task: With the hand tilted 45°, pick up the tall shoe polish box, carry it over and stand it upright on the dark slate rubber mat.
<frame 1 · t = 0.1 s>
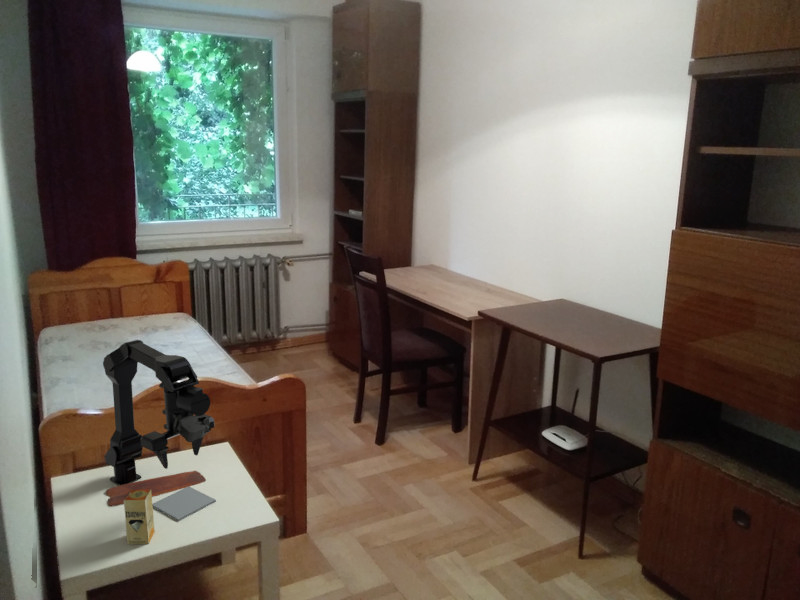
hand: (181, 461, 165), 15 cm above the table, tool pointing down, fingers open, 9 cm apart
shoe polish box: (141, 538, 157), on the table
slate mat: (183, 503, 172), on the table
wooden tablet: (157, 489, 181), on the table
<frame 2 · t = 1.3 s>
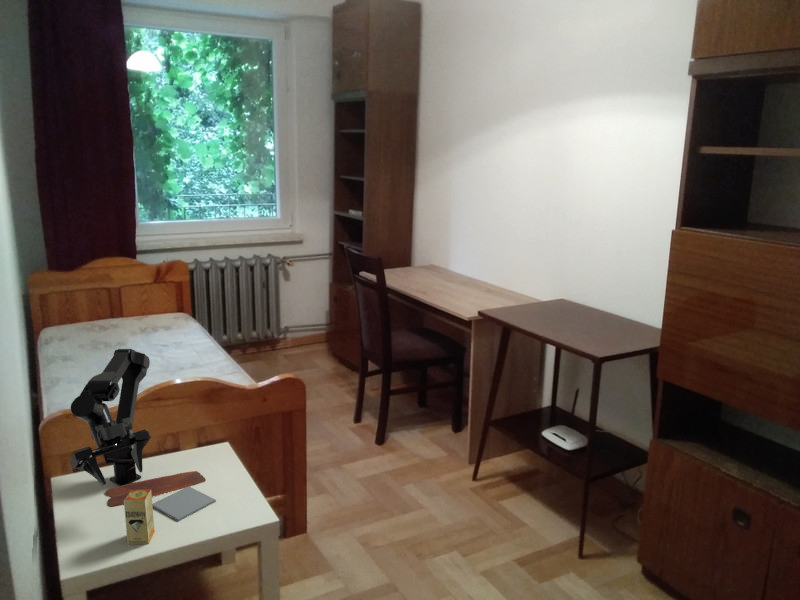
hand: (123, 478, 159), 13 cm above the table, tool tilted 45°, fingers open, 9 cm apart
nothing on the table moved.
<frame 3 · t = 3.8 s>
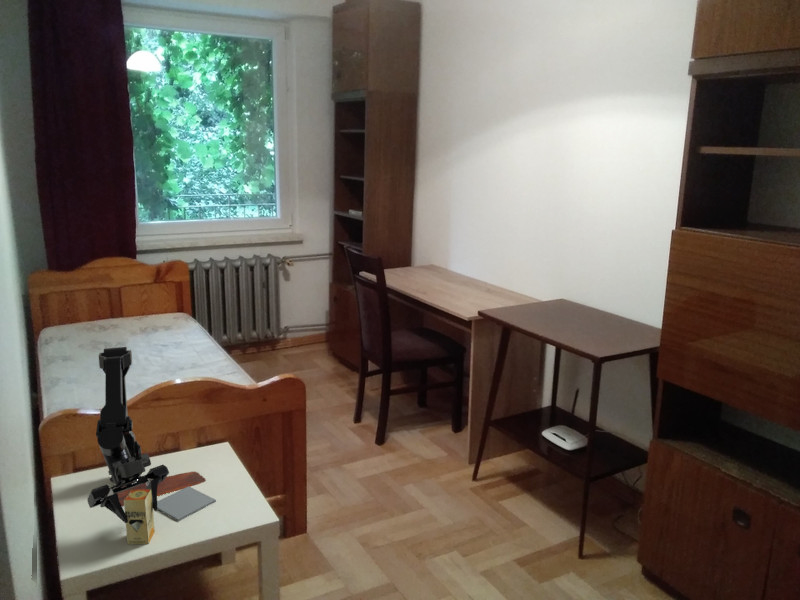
hand: (141, 516, 154), 7 cm above the table, tool tilted 45°, fingers closed on shoe polish box, 7 cm apart
shoe polish box: (141, 538, 157), on the table, touching gripper
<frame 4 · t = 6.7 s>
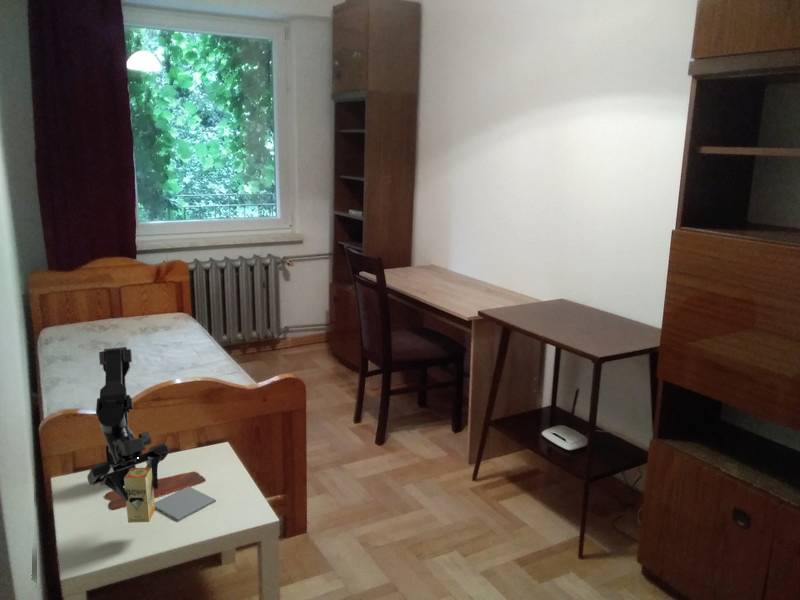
hand: (142, 494, 154), 12 cm above the table, tool tilted 45°, fingers closed on shoe polish box, 7 cm apart
shoe polish box: (141, 517, 156), point 5 cm above the table, touching gripper
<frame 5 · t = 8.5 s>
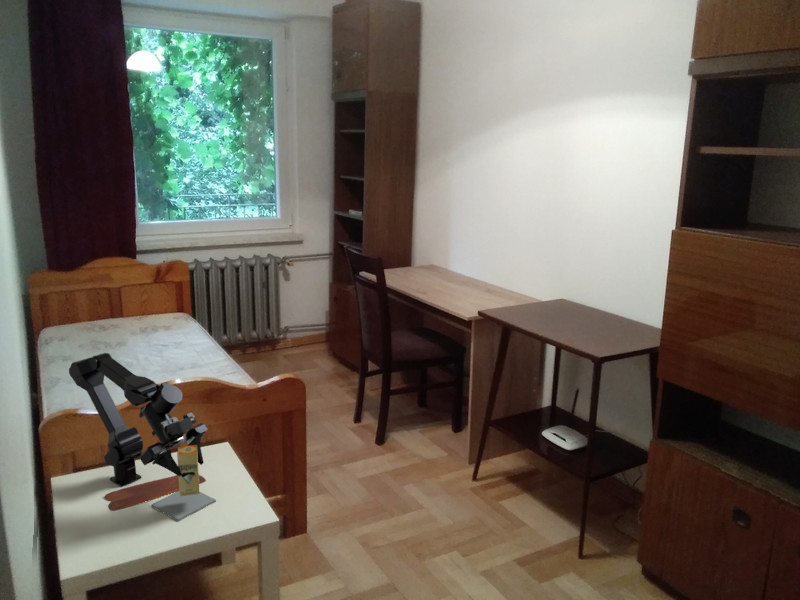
hand: (191, 469, 168), 11 cm above the table, tool tilted 45°, fingers closed on shoe polish box, 7 cm apart
shoe polish box: (189, 491, 170), point 4 cm above the table, touching gripper
when the fingers open (8 cm above the table, at t = 9.6 s): shoe polish box drops 1 cm, resting on slate mat.
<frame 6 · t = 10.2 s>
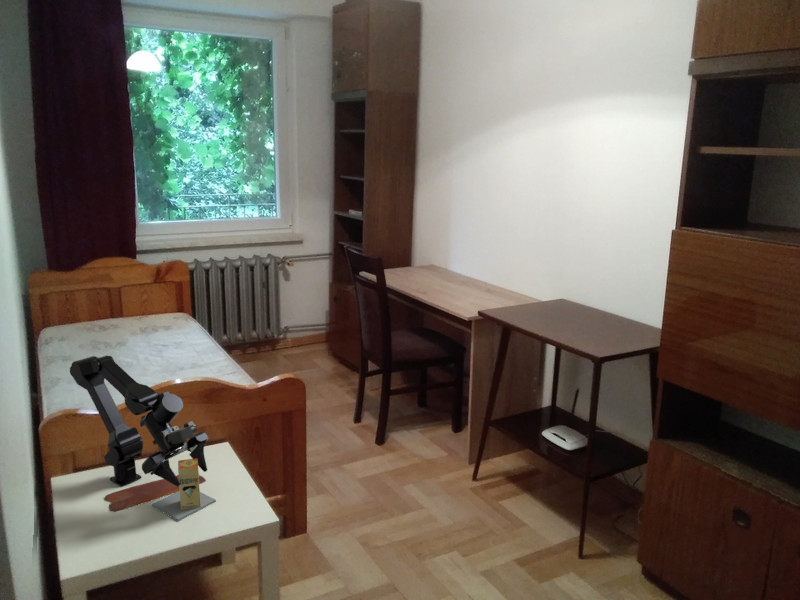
hand: (192, 478, 169), 9 cm above the table, tool tilted 45°, fingers open, 9 cm apart
shoe polish box: (190, 504, 171), resting on slate mat
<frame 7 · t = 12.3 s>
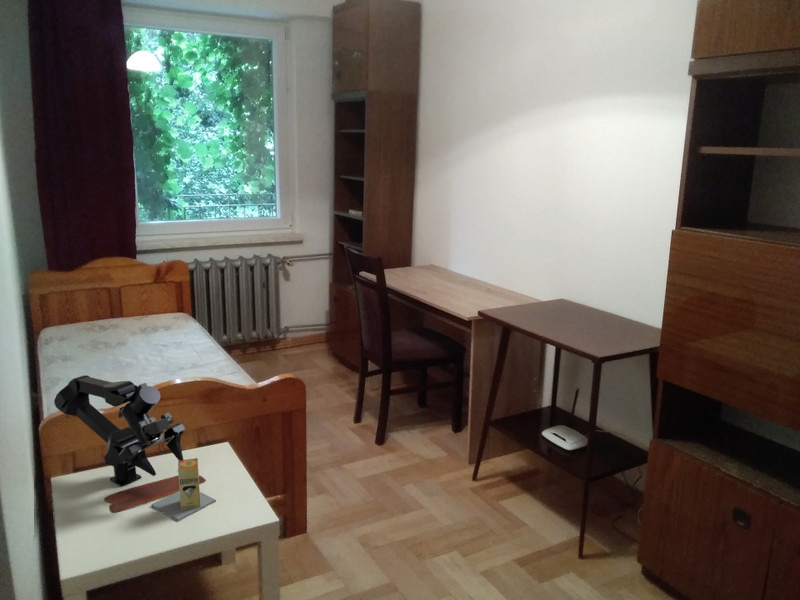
hand: (168, 468, 173), 9 cm above the table, tool tilted 45°, fingers open, 9 cm apart
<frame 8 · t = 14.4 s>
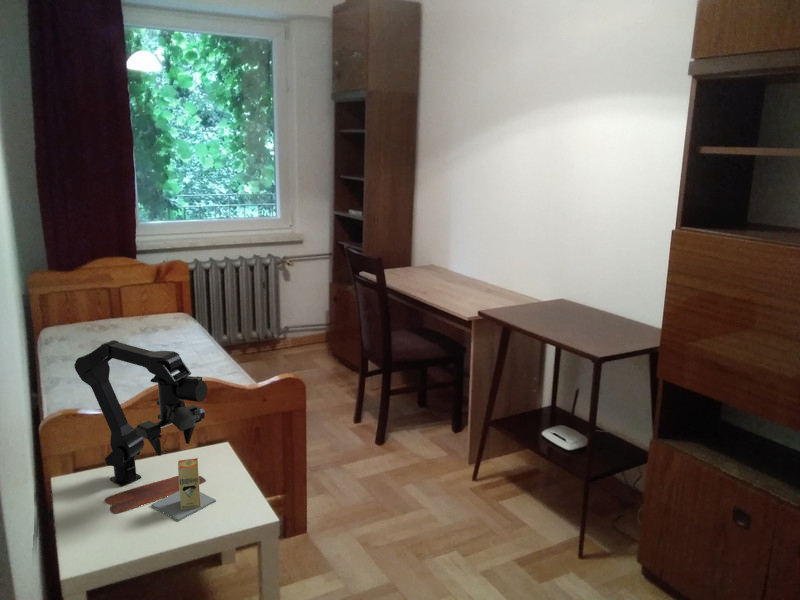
hand: (173, 449, 178), 12 cm above the table, tool pointing down, fingers open, 9 cm apart
at the end: shoe polish box inside the target area on the slate mat (2.1 cm from its centre), point 0.4 cm above the slate mat's base; shoe polish box tilted 0°; the gripper is holding nothing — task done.
